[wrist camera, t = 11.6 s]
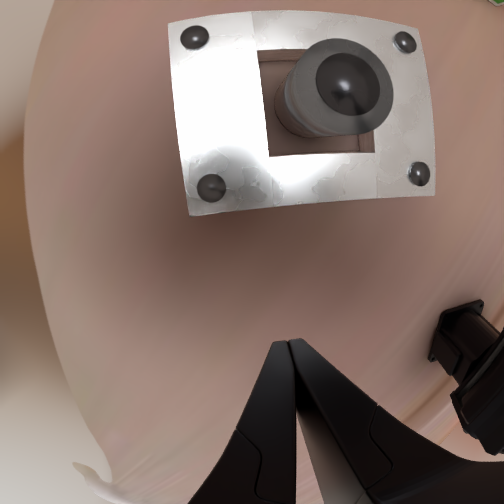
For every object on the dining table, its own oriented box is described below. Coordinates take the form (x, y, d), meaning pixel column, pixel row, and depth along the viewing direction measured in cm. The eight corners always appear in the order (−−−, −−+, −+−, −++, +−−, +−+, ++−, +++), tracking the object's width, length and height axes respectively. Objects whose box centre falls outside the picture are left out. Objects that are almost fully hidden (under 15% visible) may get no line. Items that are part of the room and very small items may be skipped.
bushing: (336, 74, 15) (387, 43, 9) (343, 136, 17) (400, 135, 10) (270, 74, 15) (290, 34, 9) (278, 140, 17) (303, 135, 10)
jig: (401, 37, 14) (419, 27, 11) (416, 189, 18) (437, 196, 16) (176, 36, 14) (166, 21, 11) (195, 208, 18) (188, 218, 16)
